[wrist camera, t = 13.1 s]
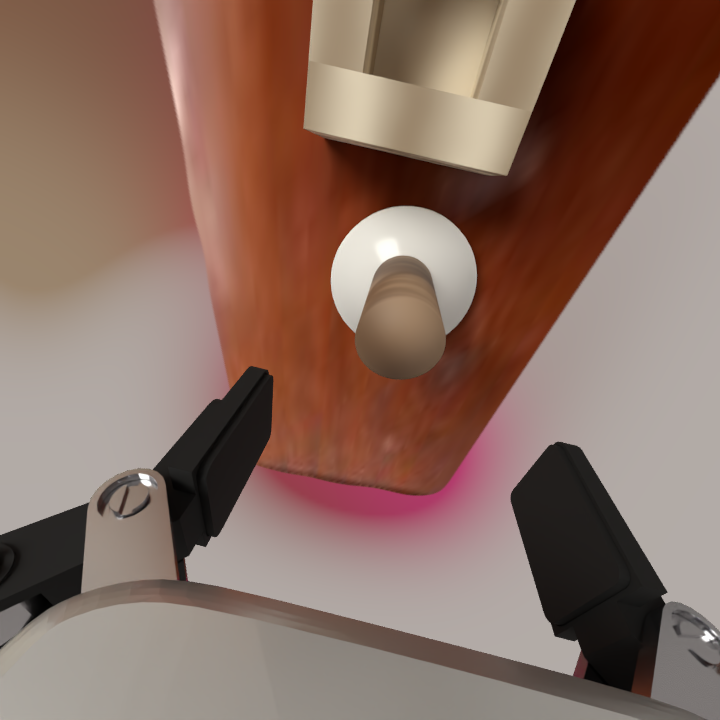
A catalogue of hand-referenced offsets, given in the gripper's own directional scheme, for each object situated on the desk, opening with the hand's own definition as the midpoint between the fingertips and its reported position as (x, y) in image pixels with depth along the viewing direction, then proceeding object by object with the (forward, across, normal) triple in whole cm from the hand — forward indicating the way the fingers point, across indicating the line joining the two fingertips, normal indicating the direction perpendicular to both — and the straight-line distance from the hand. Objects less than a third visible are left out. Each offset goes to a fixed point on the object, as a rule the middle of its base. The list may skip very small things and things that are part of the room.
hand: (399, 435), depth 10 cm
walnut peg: (+17, 0, +1) cm, 17 cm away
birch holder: (+19, +2, -14) cm, 24 cm away
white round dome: (+19, 0, +1) cm, 19 cm away
